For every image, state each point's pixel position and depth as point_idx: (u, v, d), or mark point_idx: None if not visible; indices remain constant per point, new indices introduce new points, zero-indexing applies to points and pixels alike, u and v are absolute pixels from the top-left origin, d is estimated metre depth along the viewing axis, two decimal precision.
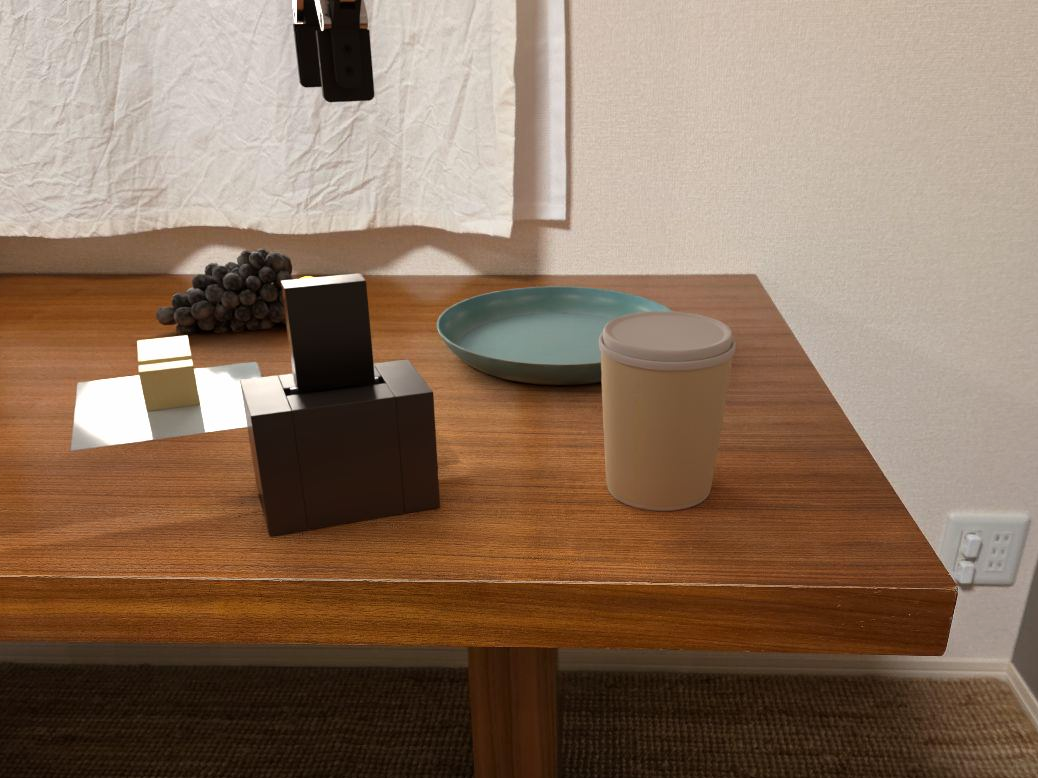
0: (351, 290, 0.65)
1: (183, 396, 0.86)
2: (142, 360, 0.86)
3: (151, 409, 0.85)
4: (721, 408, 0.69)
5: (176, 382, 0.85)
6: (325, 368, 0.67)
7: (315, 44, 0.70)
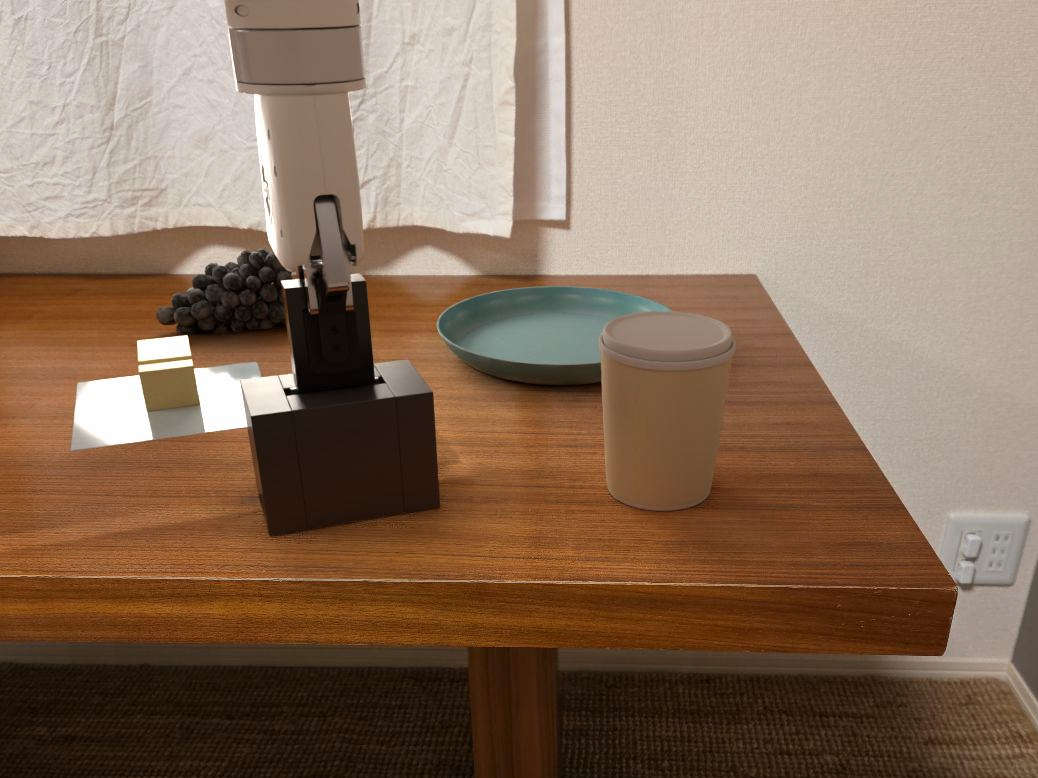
0: None
1: (183, 396, 0.86)
2: (142, 360, 0.86)
3: (151, 409, 0.85)
4: (721, 408, 0.69)
5: (176, 382, 0.85)
6: None
7: None
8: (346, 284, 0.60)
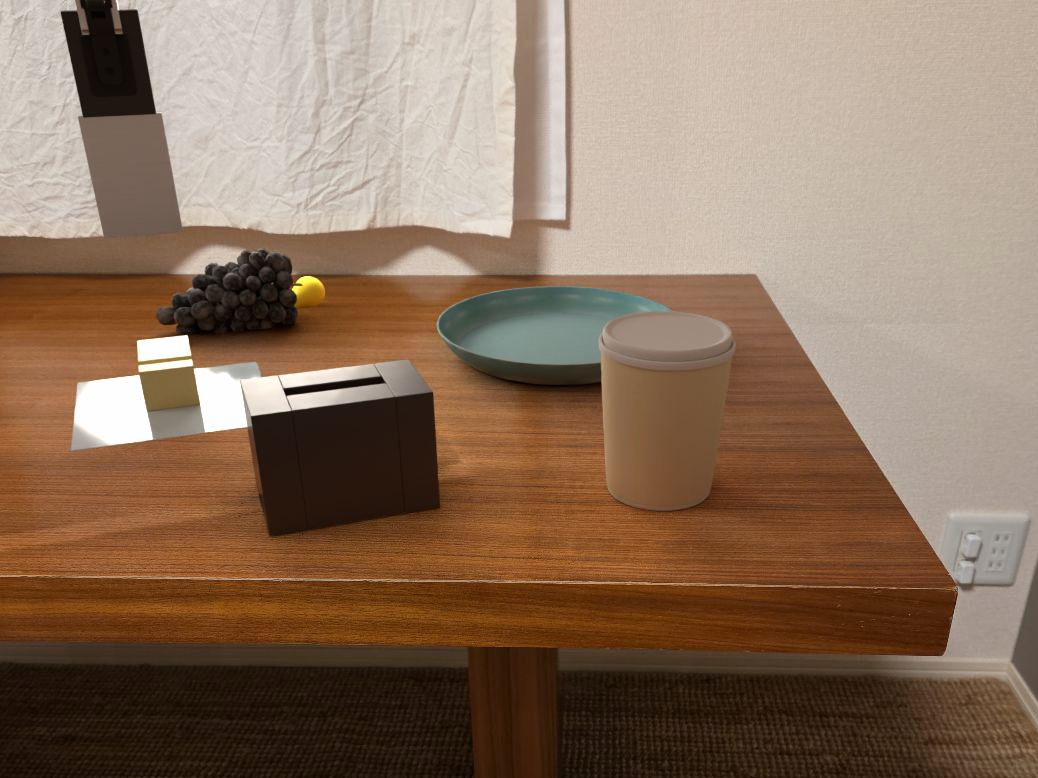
0: (124, 18, 0.73)
1: (183, 396, 0.86)
2: (142, 360, 0.86)
3: (151, 409, 0.85)
4: (721, 408, 0.69)
5: (176, 382, 0.85)
6: None
7: None
8: None
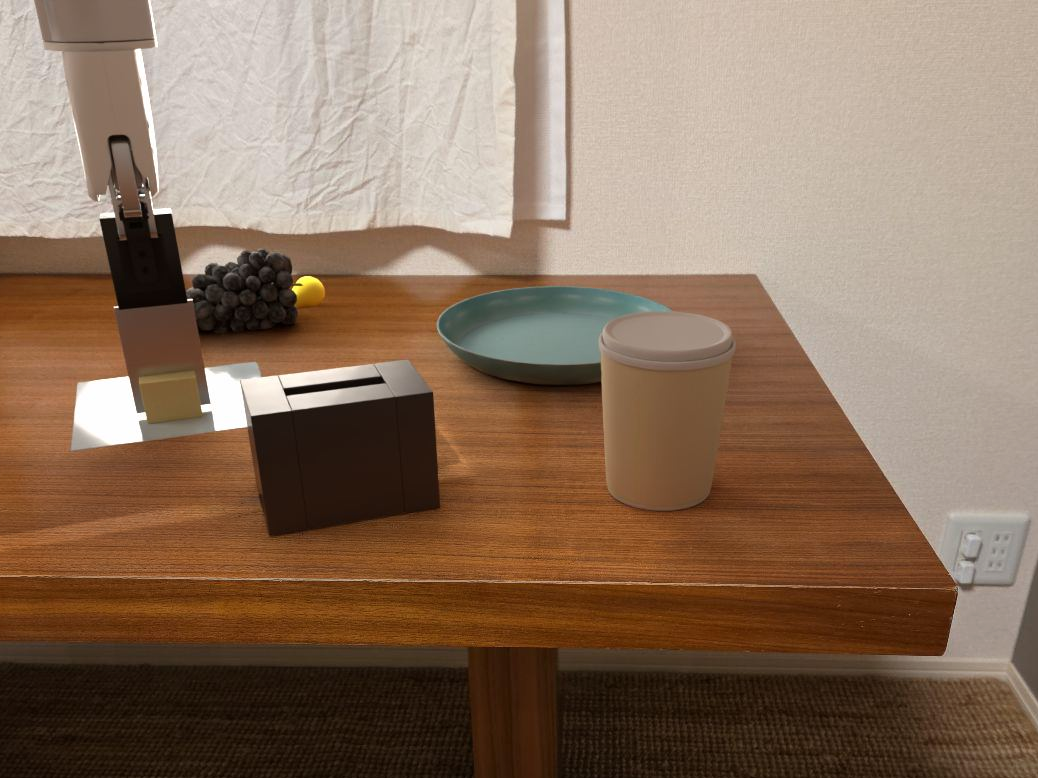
0: (159, 221, 0.77)
1: (185, 408, 0.83)
2: None
3: (152, 422, 0.83)
4: (721, 408, 0.69)
5: (178, 394, 0.83)
6: None
7: None
8: (139, 211, 0.72)
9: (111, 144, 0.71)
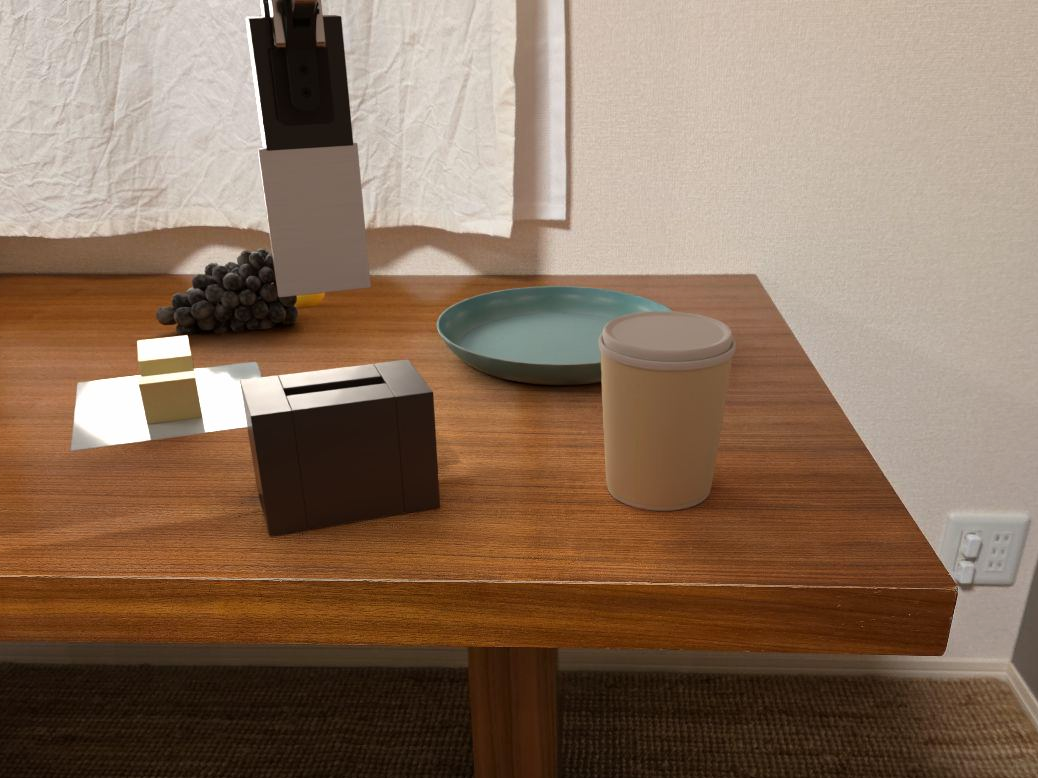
0: (324, 27, 0.58)
1: (184, 409, 0.83)
2: (142, 360, 0.86)
3: (152, 422, 0.83)
4: (721, 408, 0.69)
5: (177, 394, 0.83)
6: None
7: None
8: None
9: None
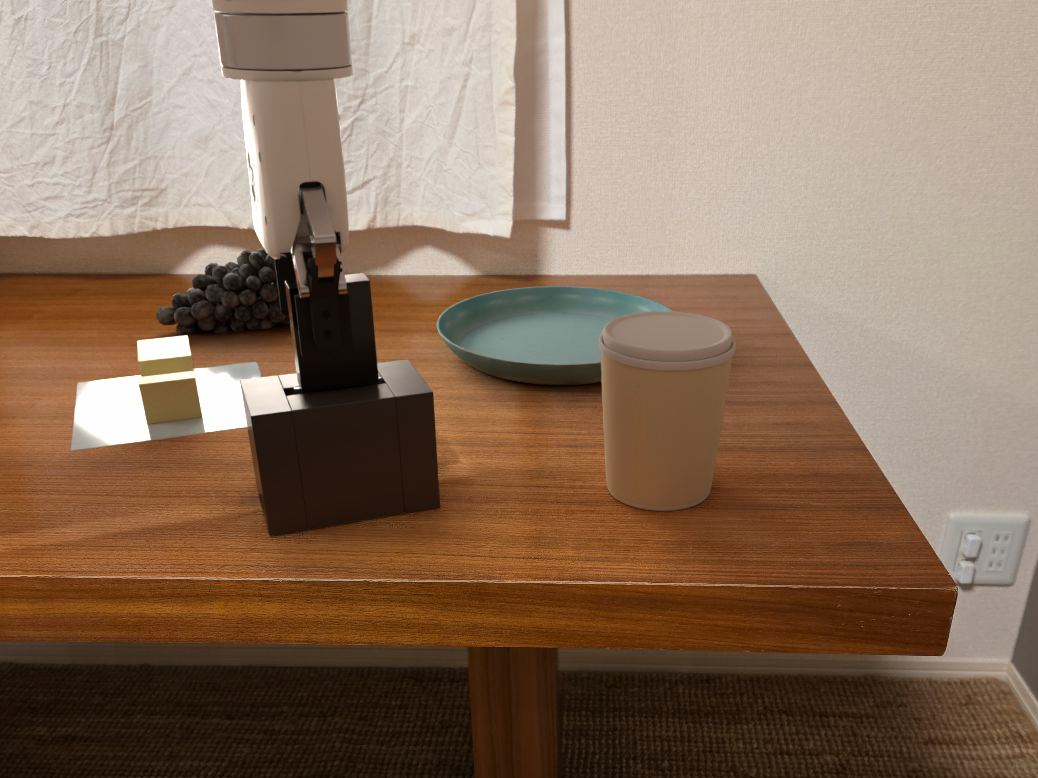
0: (355, 290, 0.65)
1: (184, 409, 0.83)
2: (142, 360, 0.86)
3: (152, 422, 0.83)
4: (721, 408, 0.69)
5: (177, 394, 0.83)
6: (329, 368, 0.67)
7: (296, 276, 0.69)
8: (333, 233, 0.56)
9: (300, 192, 0.58)
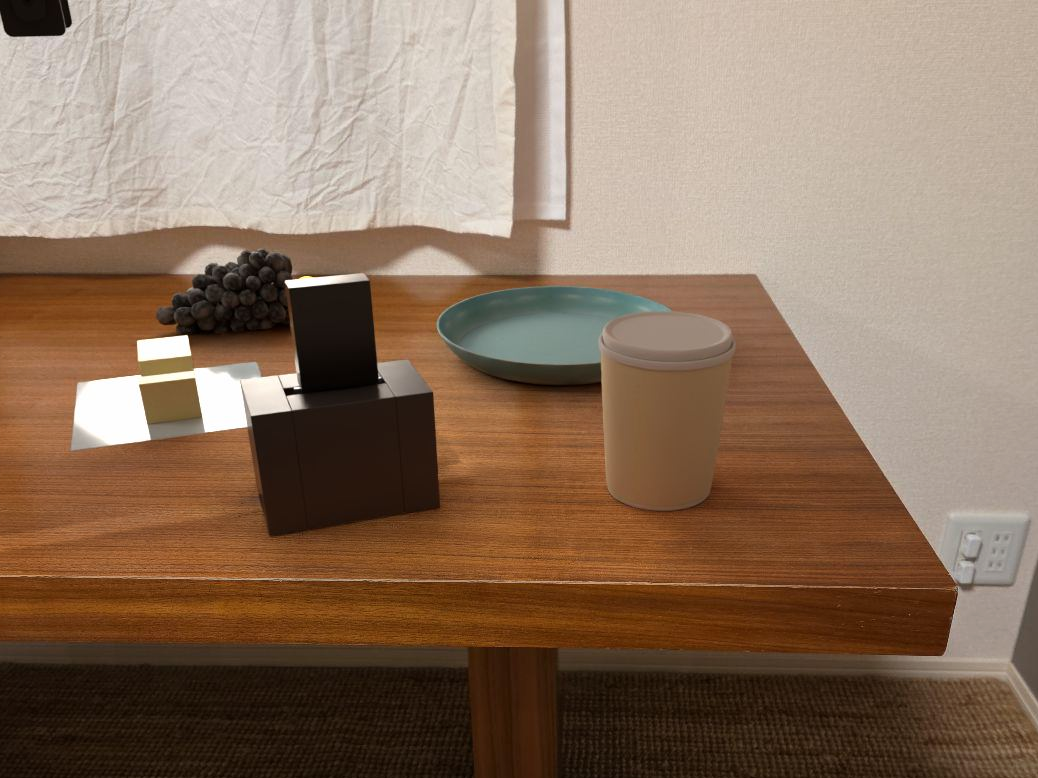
0: (355, 290, 0.65)
1: (184, 409, 0.83)
2: (142, 360, 0.86)
3: (152, 422, 0.83)
4: (721, 408, 0.69)
5: (177, 394, 0.83)
6: (329, 368, 0.67)
7: None
8: None
9: None
